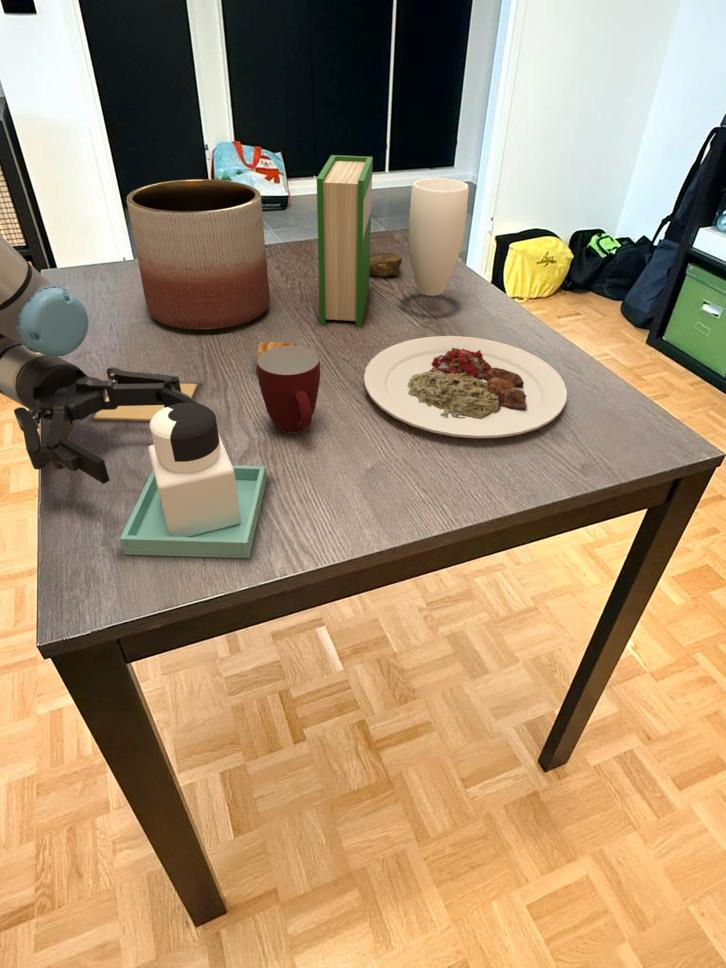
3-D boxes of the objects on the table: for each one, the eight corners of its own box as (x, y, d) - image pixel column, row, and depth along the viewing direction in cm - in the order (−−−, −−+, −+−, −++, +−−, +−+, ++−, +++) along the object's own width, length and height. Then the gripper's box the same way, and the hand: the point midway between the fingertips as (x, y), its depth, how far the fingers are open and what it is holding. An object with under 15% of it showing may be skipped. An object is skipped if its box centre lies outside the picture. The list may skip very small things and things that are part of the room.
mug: (341, 440, 83) (341, 373, 77) (287, 458, 80) (282, 390, 73) (304, 404, 90) (301, 340, 84) (252, 419, 86) (246, 354, 80)
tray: (124, 554, 66) (119, 538, 64) (159, 477, 76) (155, 462, 74) (249, 558, 66) (247, 542, 64) (266, 481, 76) (265, 465, 74)
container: (226, 484, 74) (212, 389, 66) (242, 525, 69) (228, 426, 61) (160, 499, 72) (137, 402, 64) (170, 542, 66) (147, 442, 58)
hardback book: (360, 326, 111) (363, 180, 96) (319, 323, 112) (316, 178, 97) (368, 289, 125) (372, 156, 110) (332, 287, 125) (331, 155, 110)
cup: (395, 312, 116) (403, 188, 103) (410, 292, 124) (418, 174, 111) (450, 320, 114) (464, 194, 101) (461, 299, 122) (476, 180, 108)
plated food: (416, 467, 79) (418, 445, 77) (335, 362, 100) (335, 343, 98) (607, 422, 88) (614, 402, 86) (495, 335, 110) (498, 317, 107)
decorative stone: (349, 275, 131) (349, 258, 129) (357, 260, 138) (357, 244, 136) (398, 279, 130) (399, 262, 128) (404, 264, 137) (405, 247, 135)
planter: (277, 289, 124) (270, 180, 111) (261, 338, 107) (250, 215, 94) (166, 286, 124) (147, 176, 111) (132, 334, 107) (105, 211, 94)
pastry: (317, 357, 101) (317, 336, 99) (315, 378, 96) (314, 356, 94) (260, 356, 101) (258, 335, 99) (254, 377, 96) (252, 354, 94)
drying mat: (94, 419, 86) (93, 417, 85) (117, 383, 93) (117, 381, 93) (181, 422, 86) (180, 419, 85) (197, 386, 93) (197, 383, 93)
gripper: (132, 372, 89) (239, 422, 79) (-44, 453, 73) (65, 528, 63) (120, 323, 84) (233, 369, 74) (-70, 398, 68) (42, 469, 58)
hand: (156, 442), depth 69 cm, fingers open, 13 cm apart
